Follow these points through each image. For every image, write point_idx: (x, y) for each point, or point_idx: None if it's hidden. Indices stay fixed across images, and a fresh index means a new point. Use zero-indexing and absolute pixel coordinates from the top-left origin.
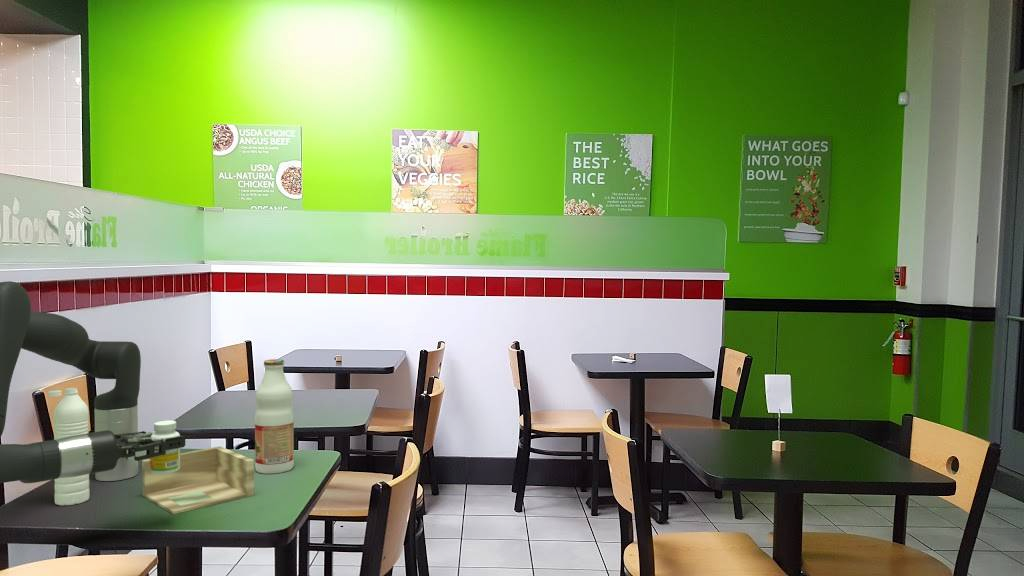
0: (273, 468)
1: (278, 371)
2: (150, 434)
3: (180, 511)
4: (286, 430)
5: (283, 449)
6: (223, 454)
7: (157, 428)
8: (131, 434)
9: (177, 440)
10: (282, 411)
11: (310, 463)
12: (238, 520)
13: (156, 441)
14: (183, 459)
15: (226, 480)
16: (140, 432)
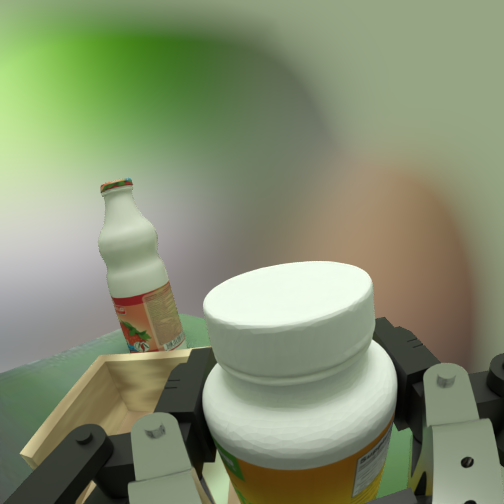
0: None
1: (131, 196)
2: (179, 431)
3: None
4: (171, 290)
5: (178, 320)
6: (137, 365)
7: (347, 343)
8: (55, 502)
9: (419, 341)
10: (159, 260)
11: (183, 330)
12: (400, 432)
13: (471, 407)
14: (79, 409)
15: None
16: (76, 448)
